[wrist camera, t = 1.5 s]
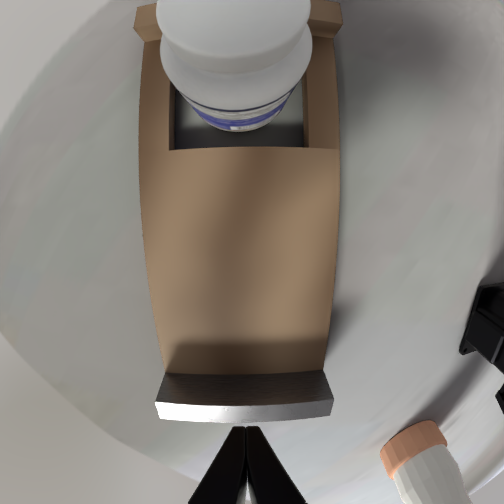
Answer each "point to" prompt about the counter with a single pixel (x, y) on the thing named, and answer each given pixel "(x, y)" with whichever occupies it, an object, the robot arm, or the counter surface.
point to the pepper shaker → (424, 466)
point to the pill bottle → (235, 56)
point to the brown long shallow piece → (242, 249)
